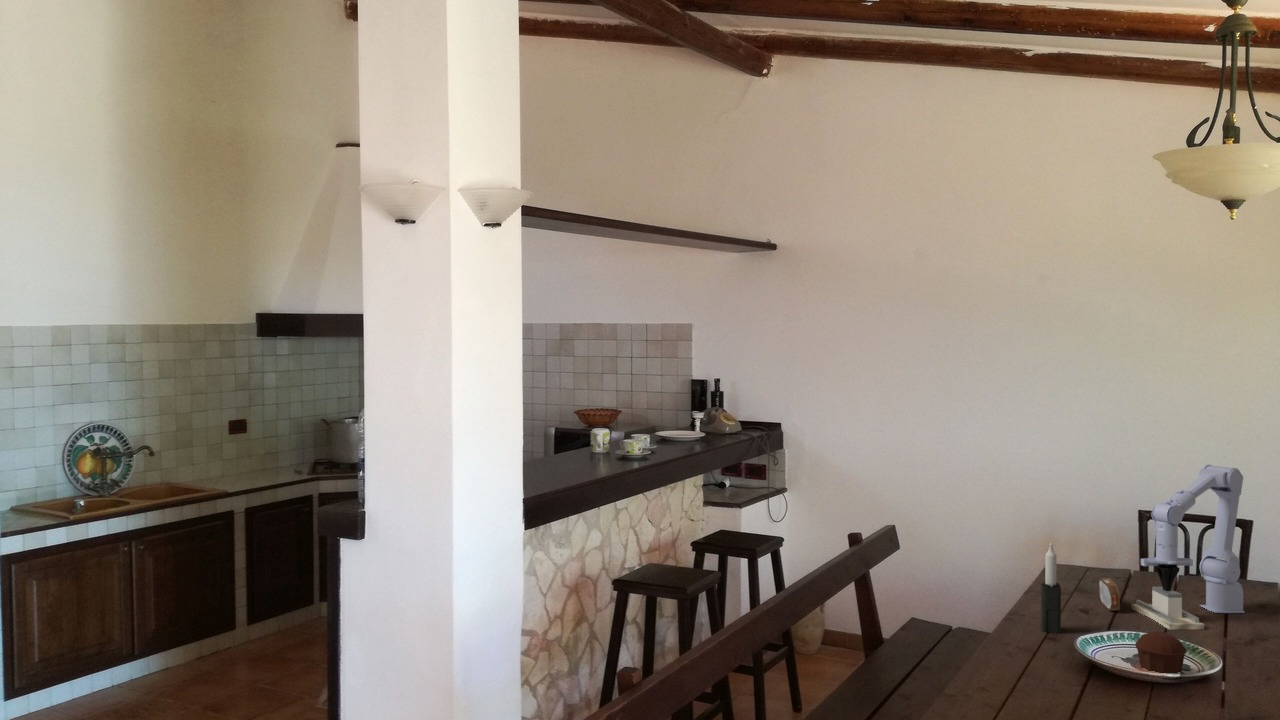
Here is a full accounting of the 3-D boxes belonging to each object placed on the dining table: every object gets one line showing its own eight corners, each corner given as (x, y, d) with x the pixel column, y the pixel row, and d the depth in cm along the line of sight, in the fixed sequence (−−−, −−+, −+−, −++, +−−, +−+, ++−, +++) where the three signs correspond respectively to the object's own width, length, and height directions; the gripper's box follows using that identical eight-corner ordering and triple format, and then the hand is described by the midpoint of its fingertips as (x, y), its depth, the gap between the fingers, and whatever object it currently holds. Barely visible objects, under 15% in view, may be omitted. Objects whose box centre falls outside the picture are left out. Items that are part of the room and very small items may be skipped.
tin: (1121, 614, 301) (1121, 586, 301) (1109, 613, 301) (1109, 586, 301) (1108, 601, 316) (1108, 575, 315) (1097, 601, 316) (1097, 574, 316)
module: (1165, 609, 300) (1165, 586, 300) (1181, 618, 291) (1181, 594, 291) (1152, 609, 300) (1152, 586, 300) (1168, 618, 291) (1168, 594, 291)
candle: (1059, 628, 286) (1059, 542, 286) (1061, 633, 281) (1061, 545, 281) (1040, 627, 288) (1040, 541, 287) (1041, 632, 283) (1041, 544, 282)
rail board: (1163, 608, 307) (1163, 598, 306) (1204, 629, 285) (1204, 618, 284) (1131, 608, 307) (1131, 599, 306) (1169, 629, 285) (1169, 619, 284)
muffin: (1126, 665, 254) (1127, 626, 253) (1171, 665, 253) (1171, 626, 253) (1149, 681, 242) (1149, 640, 242) (1195, 681, 241) (1195, 640, 241)
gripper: (1149, 547, 291) (1149, 593, 291) (1198, 546, 291) (1198, 593, 291) (1137, 542, 298) (1137, 587, 298) (1185, 542, 298) (1185, 587, 298)
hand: (1166, 589), depth 295 cm, fingers closed
